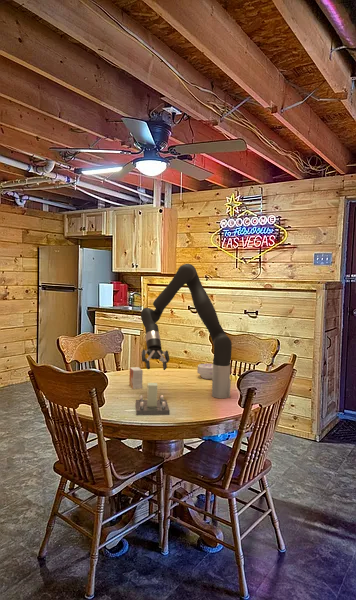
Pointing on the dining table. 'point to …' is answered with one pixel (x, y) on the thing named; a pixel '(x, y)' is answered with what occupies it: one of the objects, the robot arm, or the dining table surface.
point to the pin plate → (159, 410)
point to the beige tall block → (152, 395)
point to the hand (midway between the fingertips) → (156, 369)
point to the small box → (135, 377)
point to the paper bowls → (205, 371)
